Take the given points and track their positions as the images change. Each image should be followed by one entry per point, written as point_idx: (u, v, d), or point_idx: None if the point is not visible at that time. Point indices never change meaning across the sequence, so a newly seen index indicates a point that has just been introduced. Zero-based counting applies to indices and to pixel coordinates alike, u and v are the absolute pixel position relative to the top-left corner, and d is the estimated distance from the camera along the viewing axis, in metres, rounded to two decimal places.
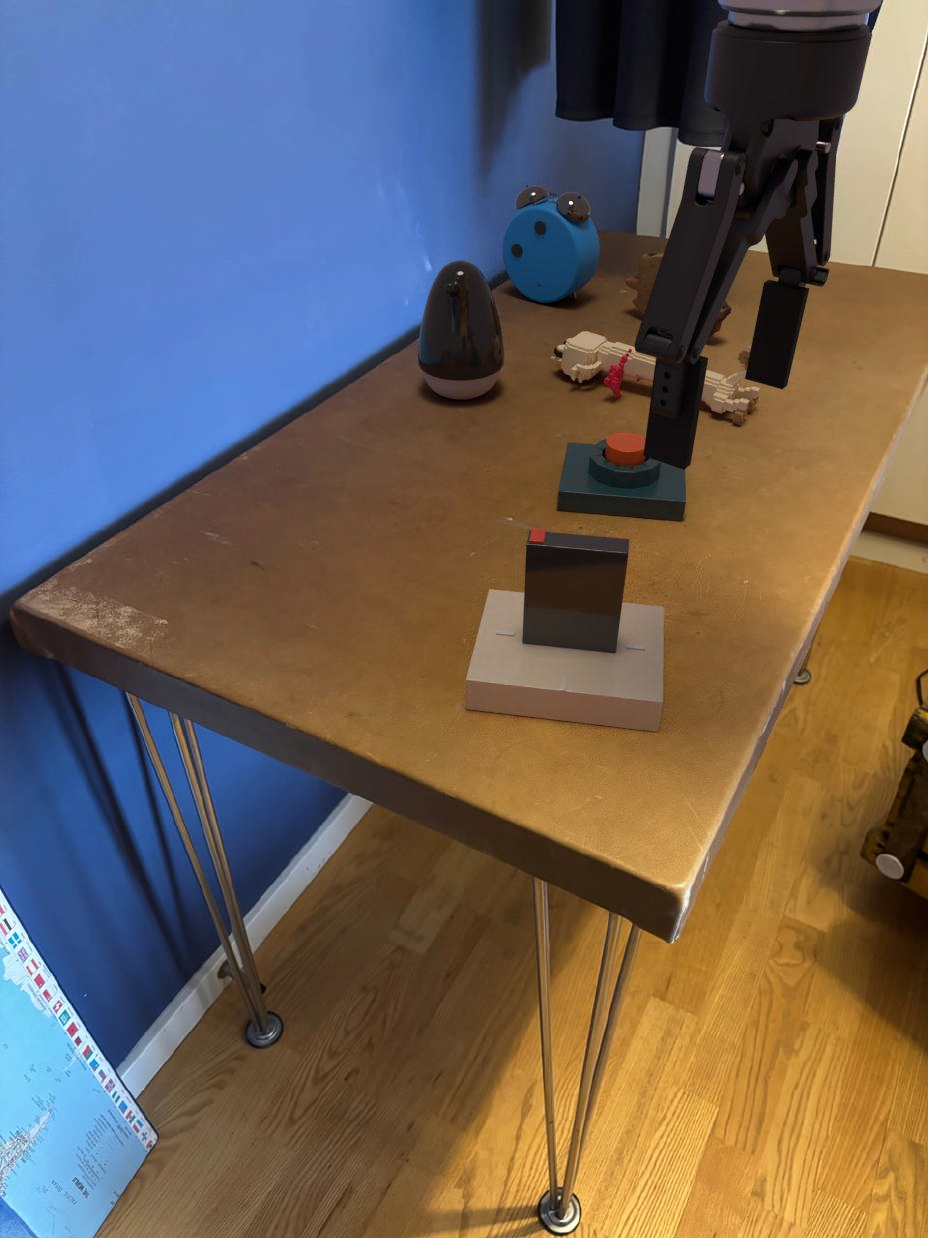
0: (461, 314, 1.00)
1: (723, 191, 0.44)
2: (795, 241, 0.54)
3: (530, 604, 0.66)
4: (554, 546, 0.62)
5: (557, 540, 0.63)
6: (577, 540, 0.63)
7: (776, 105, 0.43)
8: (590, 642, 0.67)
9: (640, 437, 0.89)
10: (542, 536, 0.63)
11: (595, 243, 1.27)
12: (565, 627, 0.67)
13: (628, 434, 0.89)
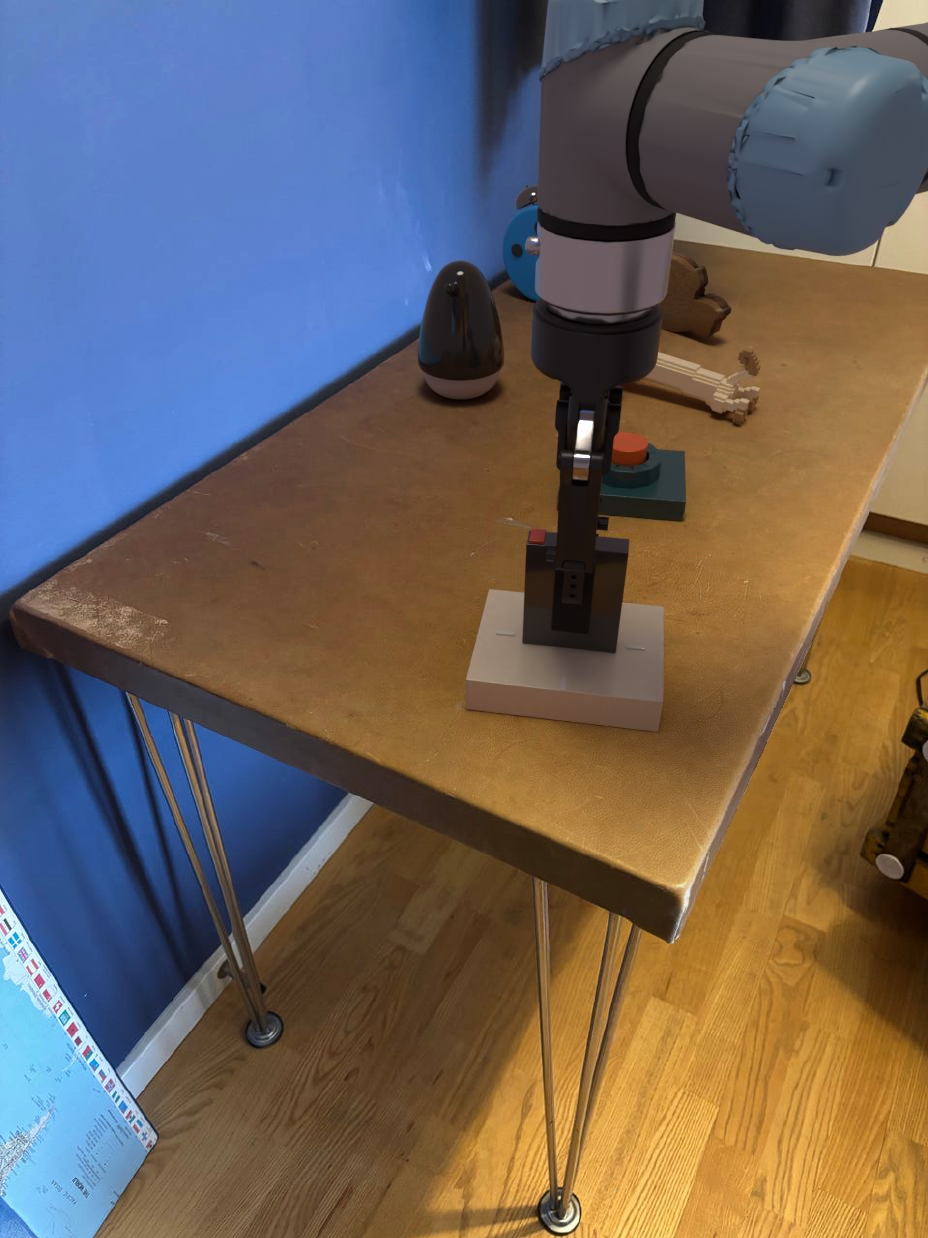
0: (461, 314, 1.00)
1: (596, 481, 0.53)
2: None
3: (530, 604, 0.66)
4: (554, 546, 0.62)
5: None
6: None
7: (614, 378, 0.52)
8: (590, 642, 0.67)
9: (640, 437, 0.89)
10: (542, 536, 0.63)
11: None
12: None
13: (628, 434, 0.89)
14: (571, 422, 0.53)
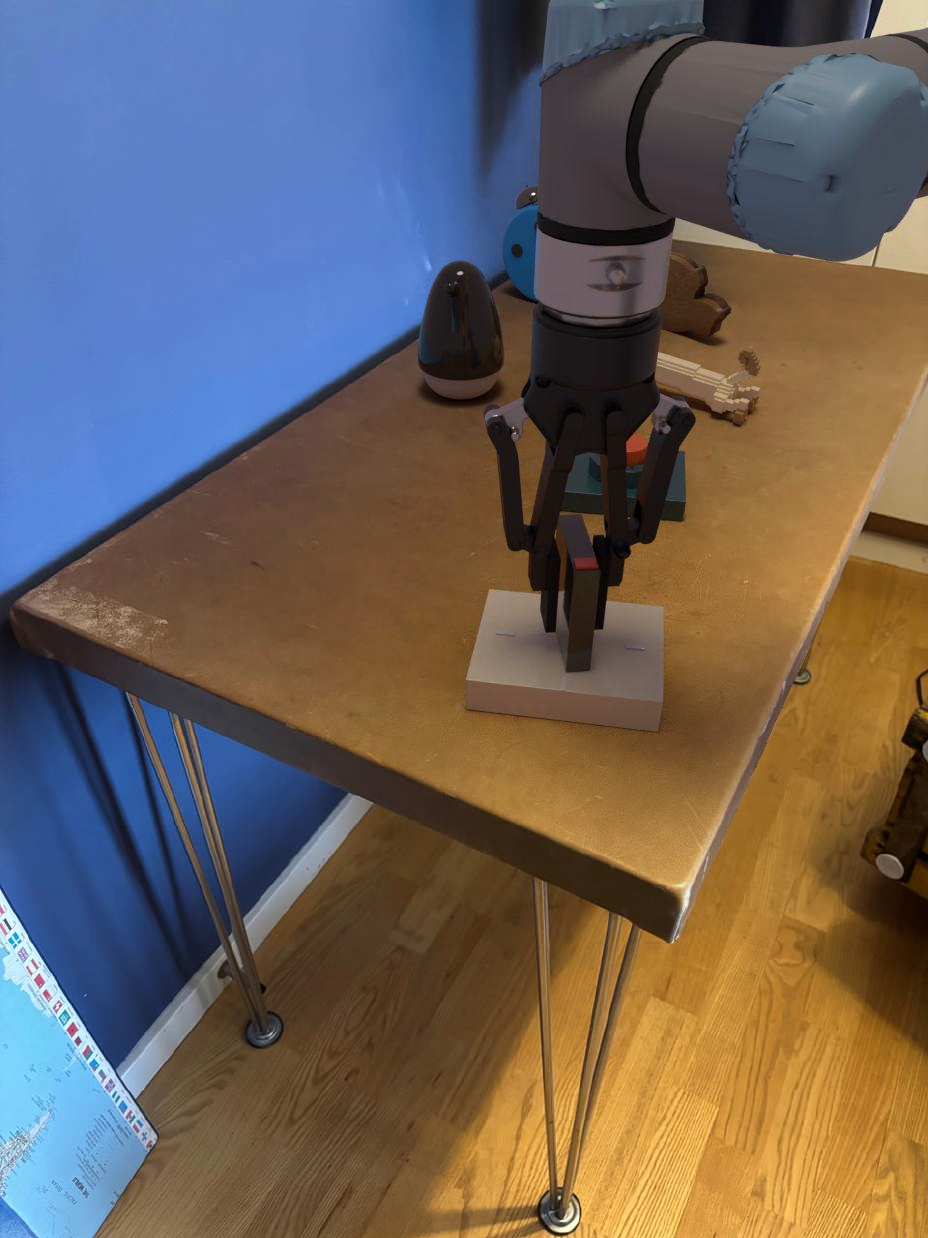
0: (461, 314, 1.00)
1: None
2: None
3: None
4: (594, 553, 0.62)
5: (583, 552, 0.62)
6: (576, 541, 0.63)
7: None
8: None
9: (640, 437, 0.89)
10: (587, 558, 0.61)
11: None
12: None
13: None
14: (658, 399, 0.56)
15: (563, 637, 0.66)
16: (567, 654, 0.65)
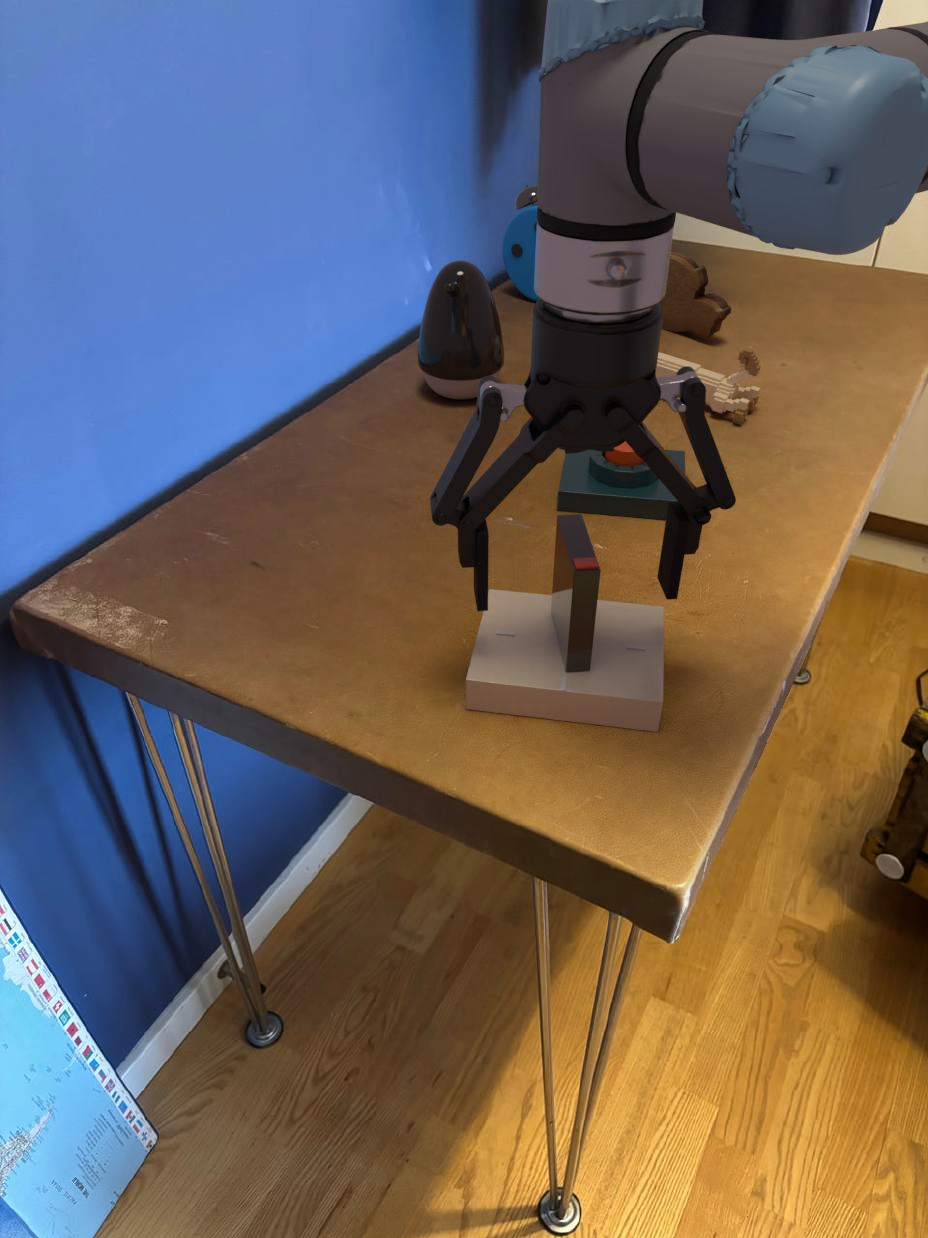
0: (461, 314, 1.00)
1: None
2: None
3: None
4: (594, 553, 0.62)
5: (583, 552, 0.62)
6: (576, 541, 0.63)
7: None
8: None
9: None
10: (587, 558, 0.61)
11: None
12: None
13: None
14: (659, 396, 0.56)
15: (563, 637, 0.66)
16: (567, 654, 0.65)
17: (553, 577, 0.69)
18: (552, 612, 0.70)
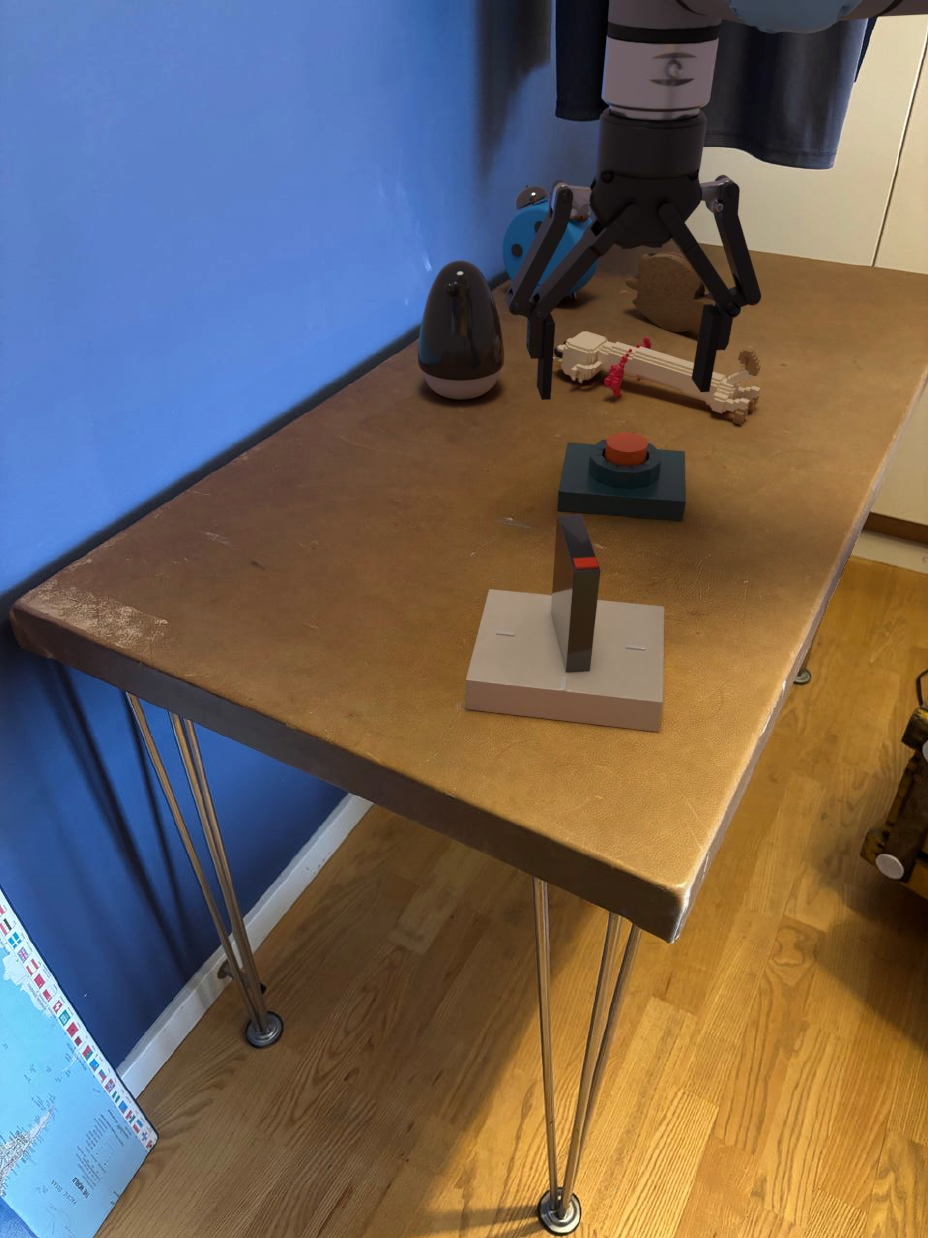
0: (461, 314, 1.00)
1: None
2: None
3: None
4: (594, 553, 0.62)
5: (583, 552, 0.62)
6: (576, 541, 0.63)
7: None
8: None
9: (640, 437, 0.89)
10: (587, 558, 0.61)
11: None
12: None
13: (628, 434, 0.89)
14: (701, 196, 0.67)
15: (563, 637, 0.66)
16: (567, 654, 0.65)
17: (553, 577, 0.69)
18: (552, 612, 0.70)
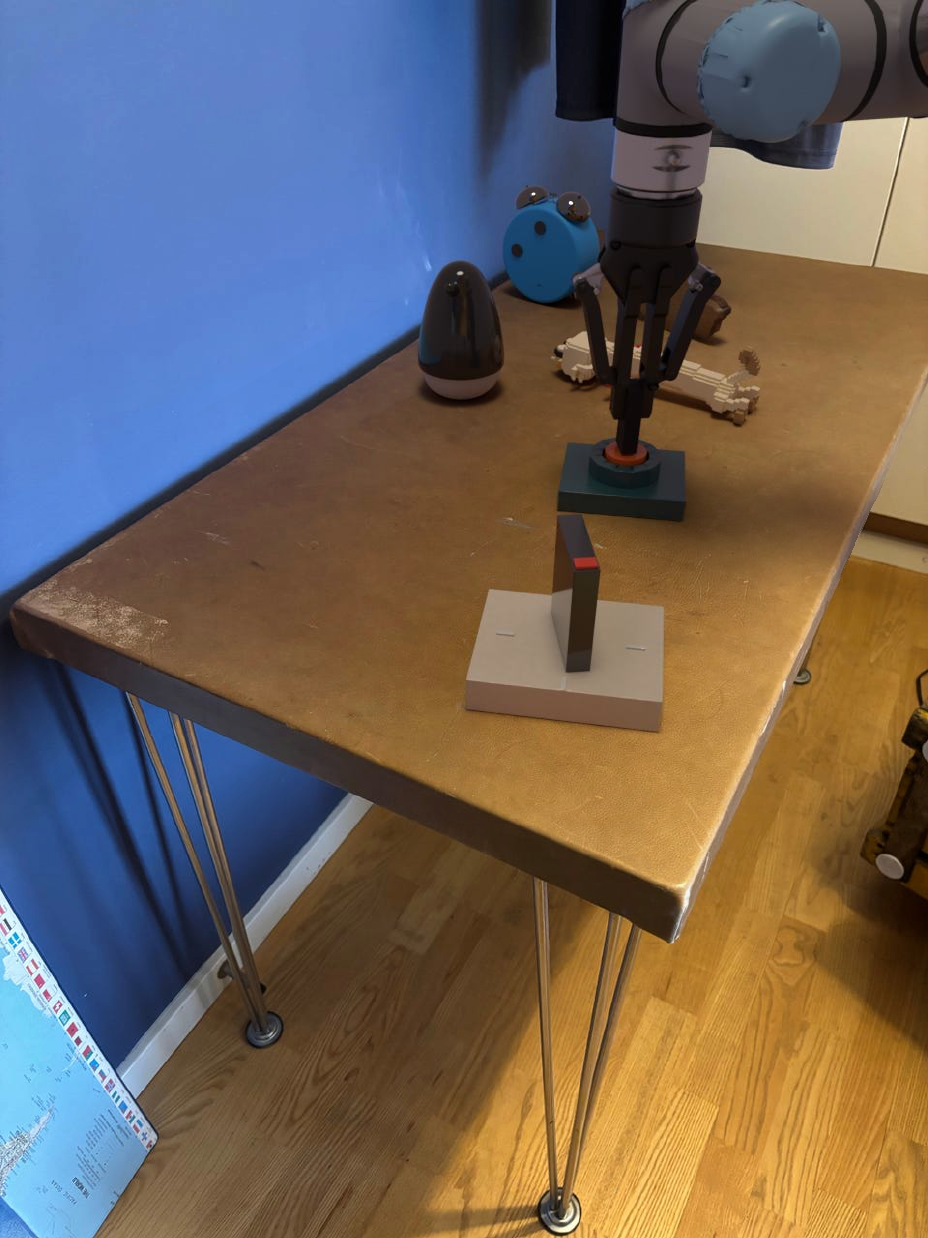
0: (461, 314, 1.00)
1: None
2: None
3: None
4: (594, 553, 0.62)
5: (583, 552, 0.62)
6: (576, 541, 0.63)
7: None
8: None
9: (639, 445, 0.89)
10: (587, 558, 0.61)
11: (595, 243, 1.27)
12: None
13: None
14: (697, 261, 0.77)
15: (563, 637, 0.66)
16: (567, 654, 0.65)
17: (553, 577, 0.69)
18: (552, 612, 0.70)
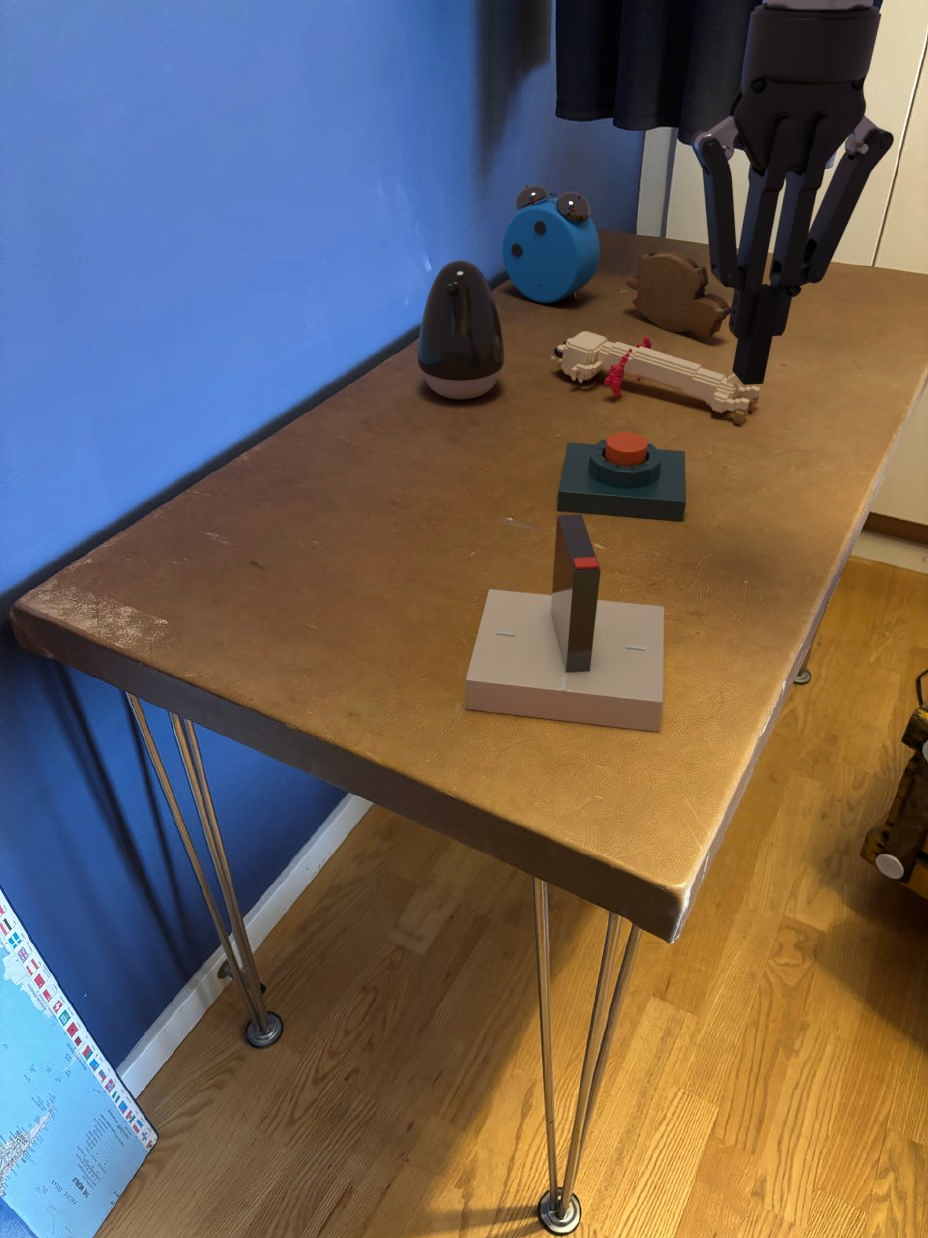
0: (461, 314, 1.00)
1: None
2: None
3: None
4: (594, 553, 0.62)
5: (583, 552, 0.62)
6: (576, 541, 0.63)
7: None
8: None
9: (640, 437, 0.89)
10: (587, 558, 0.61)
11: (595, 243, 1.27)
12: None
13: (628, 434, 0.89)
14: (864, 111, 0.58)
15: (563, 637, 0.66)
16: (567, 654, 0.65)
17: (553, 577, 0.69)
18: (552, 612, 0.70)
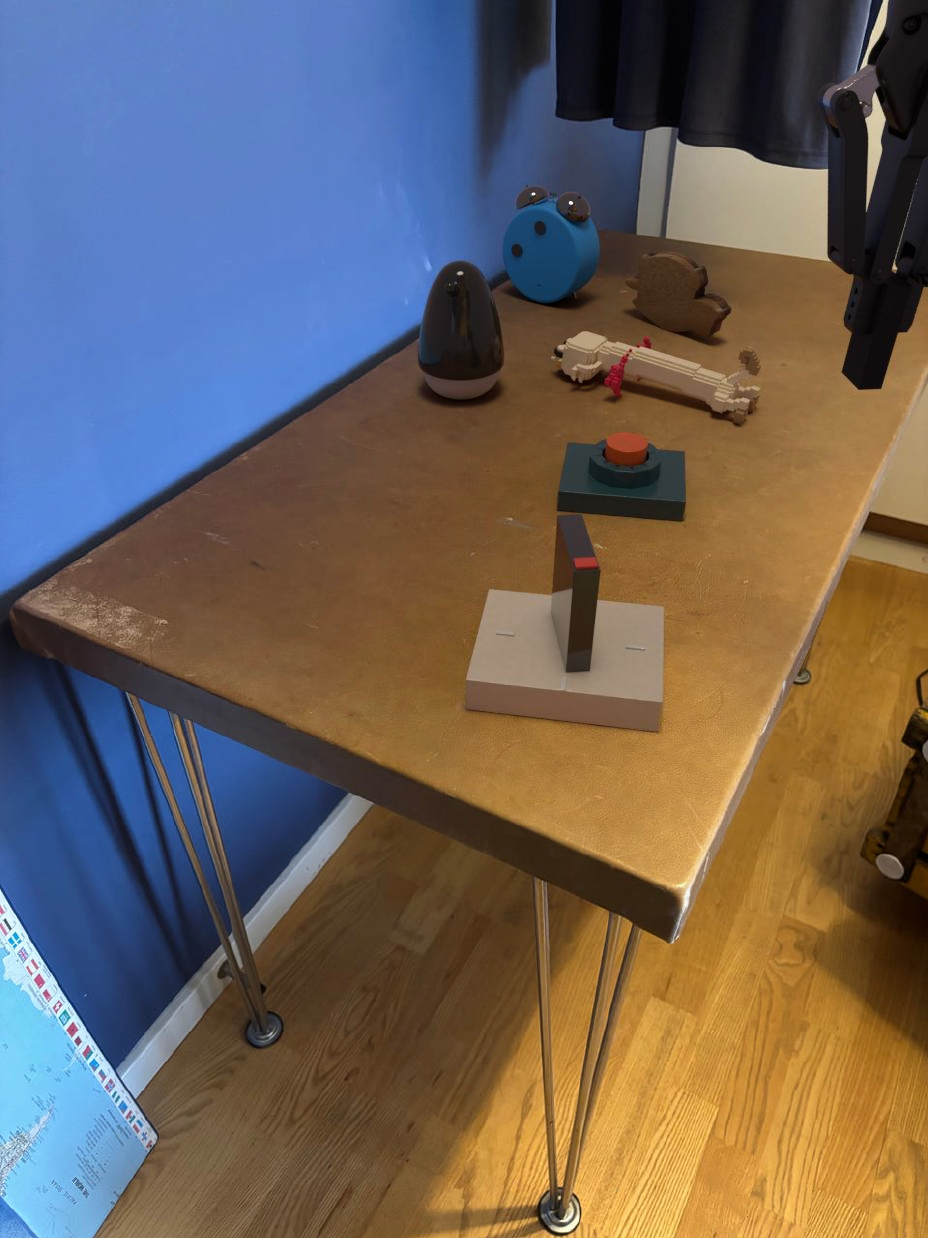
0: (461, 314, 1.00)
1: None
2: None
3: None
4: (594, 553, 0.62)
5: (583, 552, 0.62)
6: (576, 541, 0.63)
7: None
8: None
9: (640, 437, 0.89)
10: (587, 558, 0.61)
11: (595, 243, 1.27)
12: None
13: (628, 434, 0.89)
14: None
15: (563, 637, 0.66)
16: (567, 654, 0.65)
17: (553, 577, 0.69)
18: (552, 612, 0.70)
